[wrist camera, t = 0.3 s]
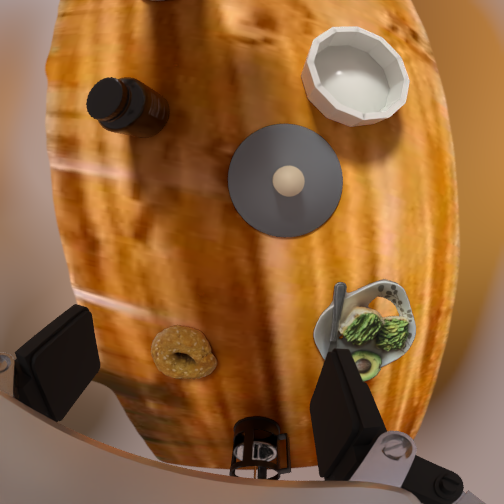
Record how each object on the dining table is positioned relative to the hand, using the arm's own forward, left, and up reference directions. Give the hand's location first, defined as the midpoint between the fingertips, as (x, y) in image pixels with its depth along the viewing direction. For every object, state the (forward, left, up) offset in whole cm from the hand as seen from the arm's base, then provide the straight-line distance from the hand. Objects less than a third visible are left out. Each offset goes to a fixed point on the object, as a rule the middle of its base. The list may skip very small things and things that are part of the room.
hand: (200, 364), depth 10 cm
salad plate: (+21, +14, -29) cm, 39 cm away
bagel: (+18, -15, -29) cm, 37 cm away
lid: (-5, +6, -29) cm, 30 cm away
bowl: (-17, +18, -29) cm, 38 cm away
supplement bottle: (-19, -10, -29) cm, 36 cm away
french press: (+40, -8, -29) cm, 50 cm away
